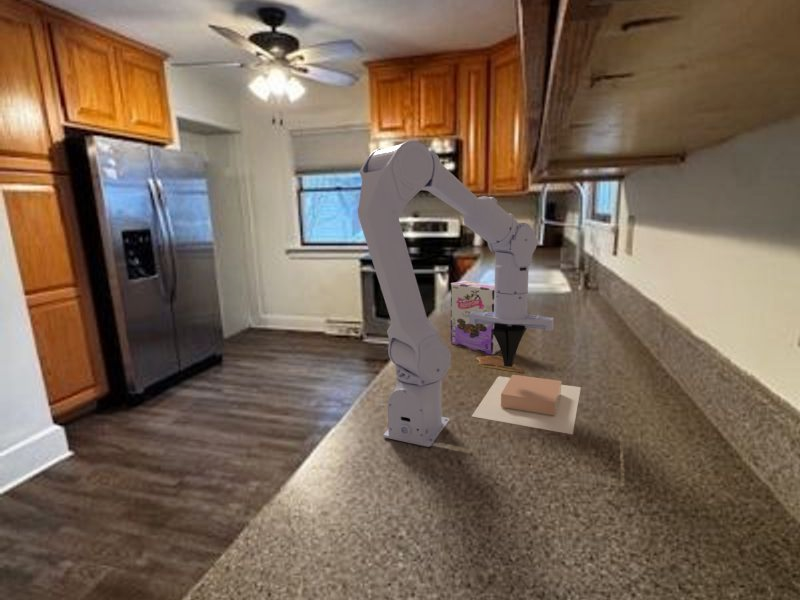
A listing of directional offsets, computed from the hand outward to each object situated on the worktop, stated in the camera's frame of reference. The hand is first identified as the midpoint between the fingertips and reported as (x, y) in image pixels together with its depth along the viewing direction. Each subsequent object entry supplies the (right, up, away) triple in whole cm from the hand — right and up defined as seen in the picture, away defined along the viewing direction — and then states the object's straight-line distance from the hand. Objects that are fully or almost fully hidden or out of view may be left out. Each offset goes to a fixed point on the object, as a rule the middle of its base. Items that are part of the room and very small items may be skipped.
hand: (508, 364), depth 82 cm
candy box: (0, 0, +34) cm, 34 cm away
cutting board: (+4, -7, 0) cm, 8 cm away
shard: (+3, -4, +20) cm, 20 cm away
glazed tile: (0, -5, +1) cm, 5 cm away
